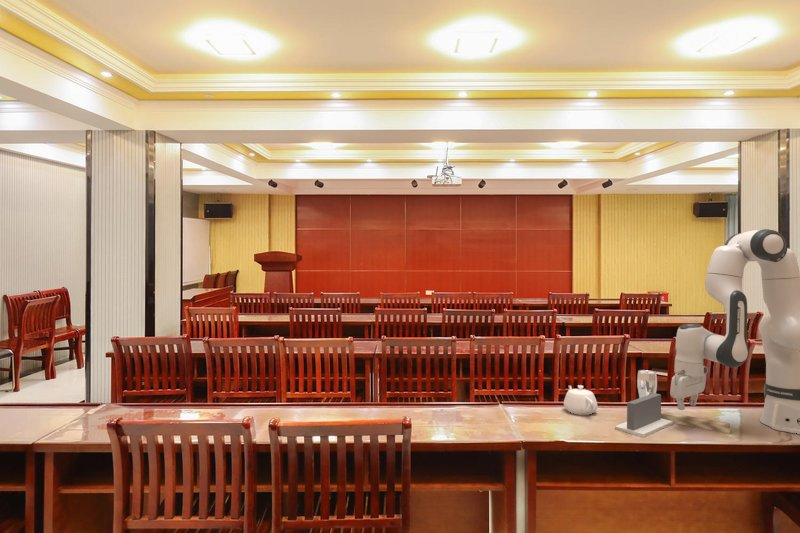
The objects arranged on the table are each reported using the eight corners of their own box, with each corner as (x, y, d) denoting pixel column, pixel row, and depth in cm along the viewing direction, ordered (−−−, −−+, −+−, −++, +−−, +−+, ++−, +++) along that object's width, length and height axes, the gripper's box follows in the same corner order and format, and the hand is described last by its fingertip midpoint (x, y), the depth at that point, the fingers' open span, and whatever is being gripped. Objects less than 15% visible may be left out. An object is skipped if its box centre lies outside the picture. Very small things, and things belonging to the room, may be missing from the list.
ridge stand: (673, 424, 177) (673, 396, 177) (643, 437, 163) (643, 407, 163) (644, 417, 185) (645, 390, 185) (614, 429, 171) (615, 400, 171)
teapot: (554, 404, 201) (554, 379, 201) (583, 403, 202) (583, 379, 202) (576, 420, 181) (576, 392, 181) (608, 419, 182) (608, 391, 182)
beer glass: (660, 412, 190) (660, 373, 190) (642, 412, 191) (642, 373, 191) (651, 407, 197) (651, 369, 197) (633, 407, 198) (634, 369, 197)
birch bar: (730, 432, 170) (730, 423, 170) (729, 434, 167) (729, 425, 167) (653, 418, 185) (654, 410, 185) (652, 420, 183) (652, 411, 183)
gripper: (685, 374, 167) (683, 414, 168) (709, 367, 180) (708, 405, 180) (666, 370, 172) (664, 409, 173) (691, 364, 185) (689, 400, 185)
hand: (686, 407), depth 176 cm, fingers open, 8 cm apart
